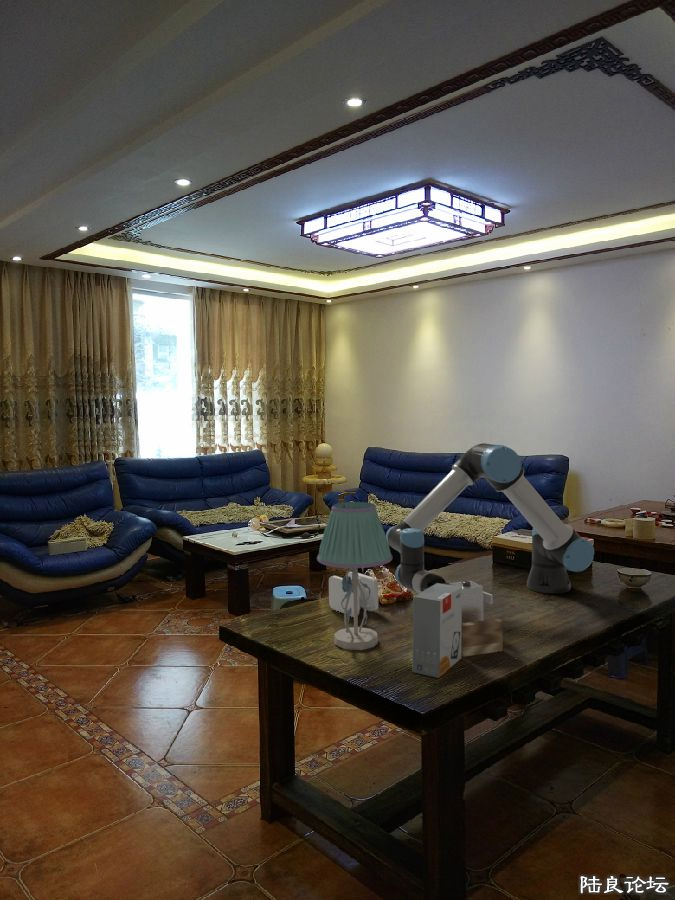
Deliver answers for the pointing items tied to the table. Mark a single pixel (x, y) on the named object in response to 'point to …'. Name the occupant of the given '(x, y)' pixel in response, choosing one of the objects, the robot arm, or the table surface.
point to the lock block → (471, 601)
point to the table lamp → (354, 561)
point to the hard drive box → (437, 629)
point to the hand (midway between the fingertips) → (473, 603)
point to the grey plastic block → (338, 595)
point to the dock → (481, 637)
